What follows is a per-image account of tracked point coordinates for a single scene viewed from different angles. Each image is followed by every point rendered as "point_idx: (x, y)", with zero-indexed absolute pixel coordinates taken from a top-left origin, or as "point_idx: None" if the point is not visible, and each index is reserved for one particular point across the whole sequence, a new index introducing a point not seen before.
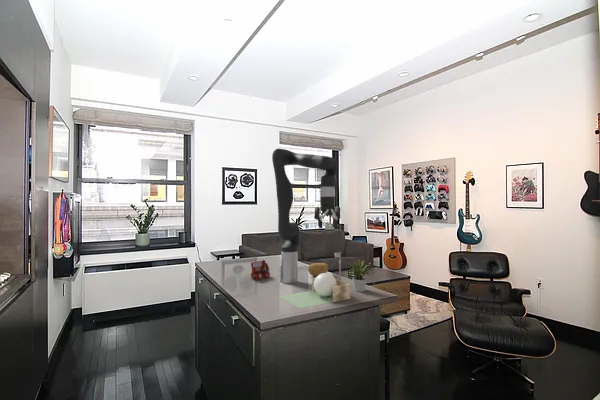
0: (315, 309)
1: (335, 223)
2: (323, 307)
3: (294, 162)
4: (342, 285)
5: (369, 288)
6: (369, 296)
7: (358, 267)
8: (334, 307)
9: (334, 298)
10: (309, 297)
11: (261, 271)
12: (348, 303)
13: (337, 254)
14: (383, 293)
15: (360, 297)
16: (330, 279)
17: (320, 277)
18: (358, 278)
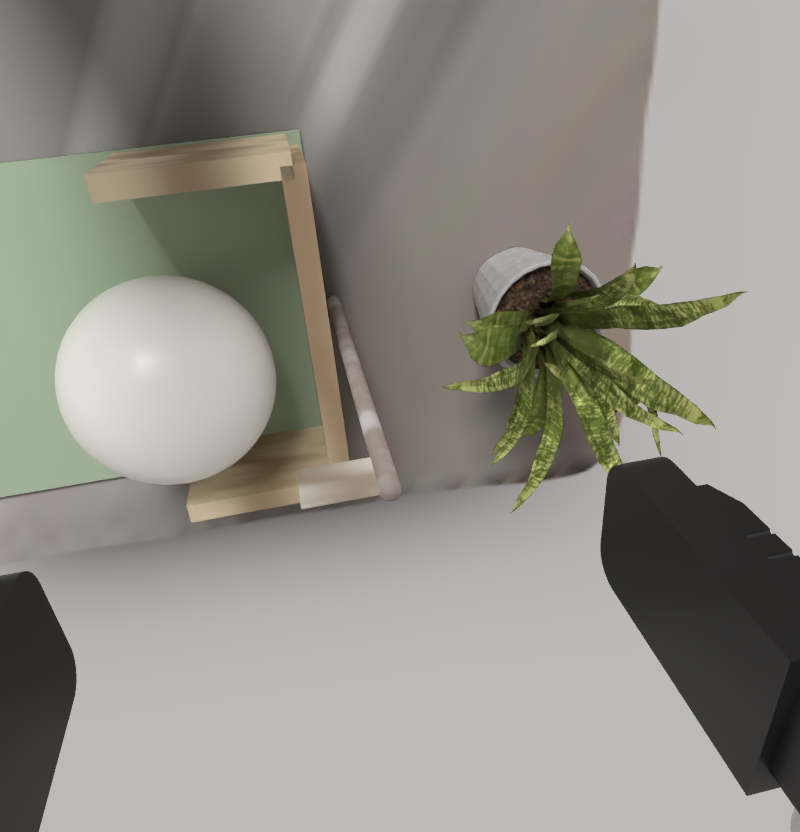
0: (28, 537)
1: (676, 667)
2: (92, 520)
3: None
4: (275, 499)
5: (616, 261)
6: (483, 423)
7: (545, 419)
8: (162, 535)
9: None
10: (36, 329)
11: None
12: None
13: (343, 488)
14: None
15: (417, 424)
16: (186, 482)
17: (94, 452)
18: (524, 346)
